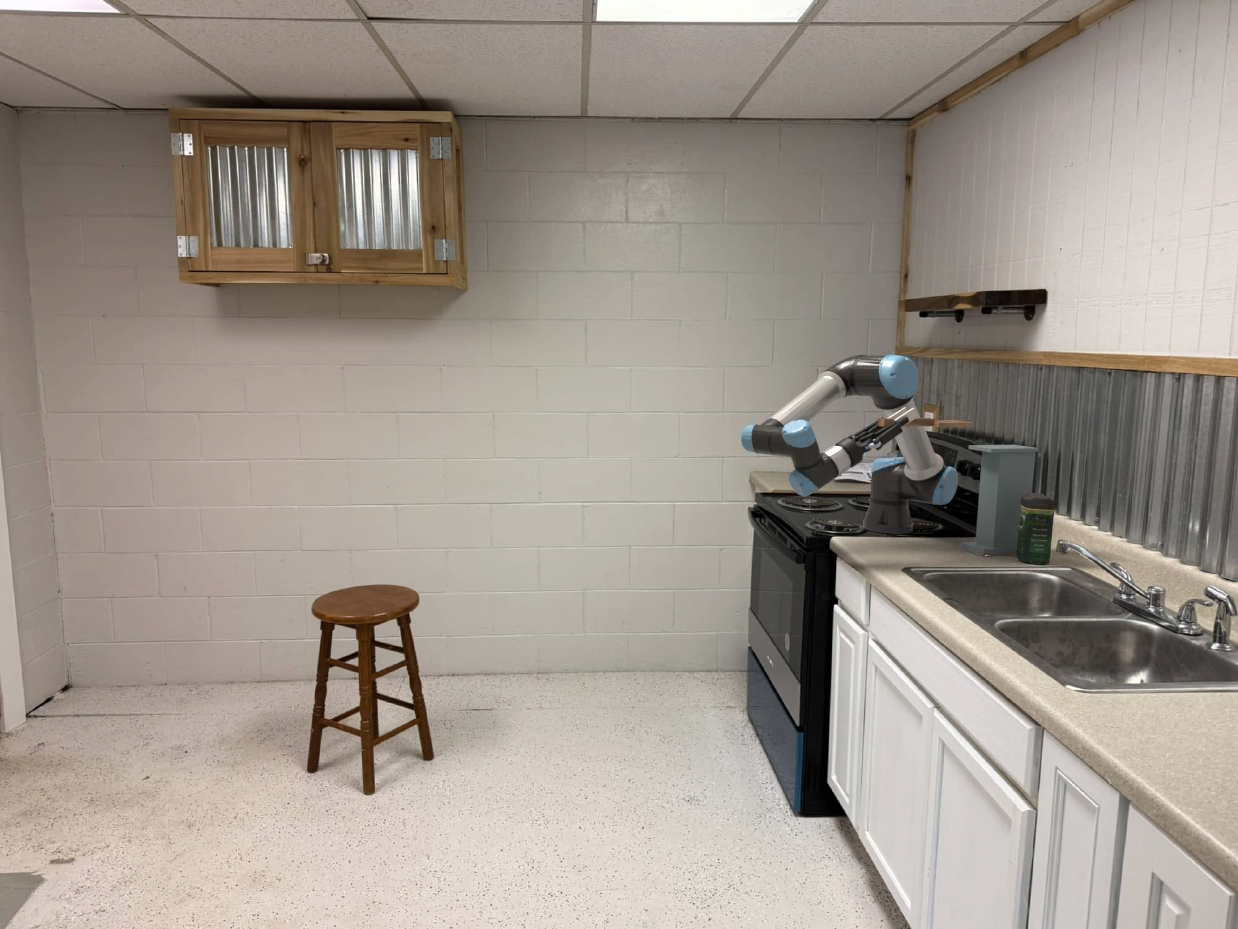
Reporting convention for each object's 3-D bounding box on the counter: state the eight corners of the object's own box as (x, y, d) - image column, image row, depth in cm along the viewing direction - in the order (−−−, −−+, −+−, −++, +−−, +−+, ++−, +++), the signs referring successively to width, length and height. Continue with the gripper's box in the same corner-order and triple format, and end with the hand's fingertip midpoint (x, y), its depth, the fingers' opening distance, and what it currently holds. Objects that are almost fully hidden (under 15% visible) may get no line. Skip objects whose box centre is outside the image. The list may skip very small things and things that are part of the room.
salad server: (872, 424, 230) (872, 417, 230) (954, 424, 238) (954, 417, 238) (889, 427, 223) (889, 419, 223) (973, 426, 231) (973, 419, 231)
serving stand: (961, 549, 245) (968, 445, 241) (1006, 546, 250) (1014, 444, 246) (983, 556, 237) (991, 448, 233) (1029, 553, 241) (1038, 448, 238)
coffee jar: (1053, 566, 227) (1059, 497, 225) (1021, 564, 229) (1026, 495, 226) (1043, 558, 236) (1049, 491, 234) (1013, 556, 238) (1018, 490, 236)
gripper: (831, 464, 233) (898, 421, 237) (865, 472, 218) (935, 426, 222) (820, 441, 231) (888, 398, 235) (853, 447, 216) (925, 401, 220)
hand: (911, 412), depth 229 cm, fingers closed on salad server, 3 cm apart
